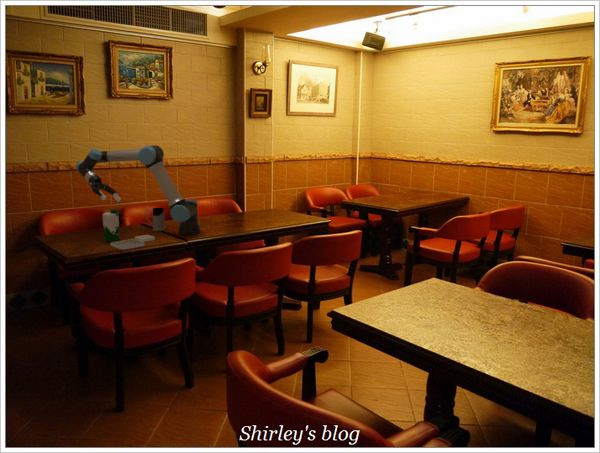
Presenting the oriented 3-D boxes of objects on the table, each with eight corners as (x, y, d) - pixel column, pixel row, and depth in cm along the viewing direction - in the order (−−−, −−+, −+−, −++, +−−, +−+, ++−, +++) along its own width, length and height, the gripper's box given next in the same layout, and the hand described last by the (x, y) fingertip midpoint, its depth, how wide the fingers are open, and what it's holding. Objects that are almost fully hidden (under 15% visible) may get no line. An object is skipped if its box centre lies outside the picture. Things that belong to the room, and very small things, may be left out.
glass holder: (161, 230, 358) (161, 209, 355) (143, 229, 361) (142, 208, 358) (167, 228, 367) (166, 207, 364) (149, 227, 369) (148, 206, 366)
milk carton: (117, 242, 323) (115, 211, 319) (102, 242, 323) (100, 211, 319) (121, 239, 332) (119, 208, 328) (106, 239, 331) (104, 208, 327)
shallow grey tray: (132, 241, 325) (132, 238, 324) (144, 245, 315) (144, 242, 315) (110, 245, 315) (110, 242, 314) (122, 249, 305) (122, 246, 304)
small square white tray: (147, 237, 337) (147, 234, 336) (154, 240, 331) (154, 236, 330) (135, 239, 330) (134, 236, 330) (142, 242, 324) (141, 239, 324)
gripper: (104, 185, 349) (122, 205, 343) (75, 181, 326) (95, 202, 320) (109, 176, 347) (128, 196, 341) (81, 172, 324) (101, 193, 318)
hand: (112, 199), depth 330 cm, fingers open, 13 cm apart
